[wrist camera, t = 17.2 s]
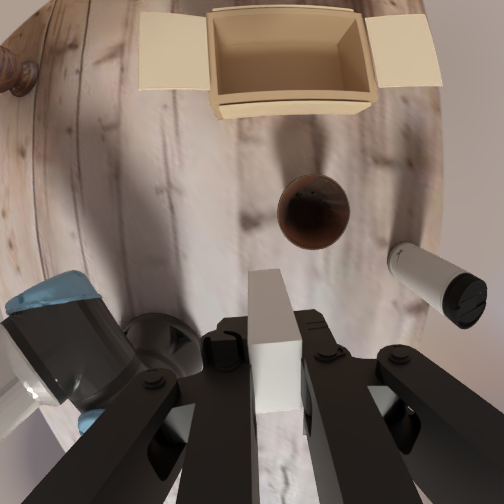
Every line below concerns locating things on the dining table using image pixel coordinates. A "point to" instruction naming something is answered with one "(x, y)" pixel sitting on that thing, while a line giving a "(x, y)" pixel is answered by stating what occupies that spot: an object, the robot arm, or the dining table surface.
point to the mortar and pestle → (16, 73)
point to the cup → (313, 212)
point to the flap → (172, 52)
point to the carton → (288, 61)
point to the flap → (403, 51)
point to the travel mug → (439, 283)
